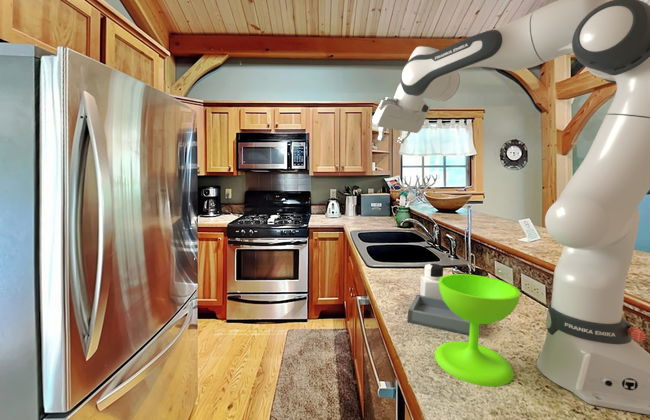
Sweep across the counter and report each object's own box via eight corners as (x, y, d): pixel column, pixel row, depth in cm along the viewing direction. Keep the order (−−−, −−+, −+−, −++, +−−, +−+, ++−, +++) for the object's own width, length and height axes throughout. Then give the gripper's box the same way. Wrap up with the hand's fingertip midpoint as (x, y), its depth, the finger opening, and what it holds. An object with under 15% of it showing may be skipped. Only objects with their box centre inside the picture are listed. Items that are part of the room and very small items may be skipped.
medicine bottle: (440, 295, 109) (441, 262, 108) (445, 303, 102) (447, 268, 101) (419, 294, 110) (421, 261, 109) (424, 302, 103) (425, 267, 101)
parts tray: (477, 316, 92) (478, 305, 92) (477, 337, 80) (478, 324, 80) (416, 304, 100) (416, 294, 100) (407, 322, 88) (408, 310, 88)
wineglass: (481, 341, 78) (486, 273, 76) (532, 382, 62) (540, 297, 60) (422, 345, 76) (425, 275, 74) (460, 389, 60) (465, 301, 58)
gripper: (390, 98, 90) (373, 142, 97) (433, 109, 102) (416, 147, 108) (377, 92, 95) (362, 134, 101) (420, 103, 106) (404, 140, 113)
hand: (390, 141), depth 105 cm, fingers open, 8 cm apart
